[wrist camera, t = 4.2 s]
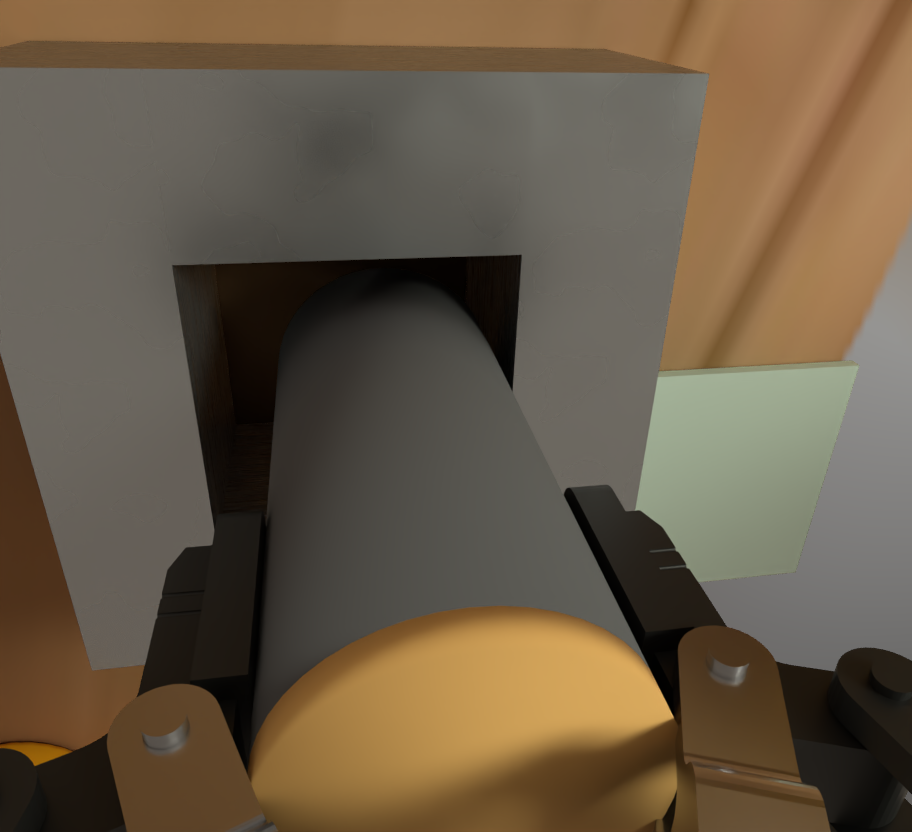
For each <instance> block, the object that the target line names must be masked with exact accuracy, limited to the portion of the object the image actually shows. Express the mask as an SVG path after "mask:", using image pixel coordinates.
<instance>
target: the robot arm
mask: <svg viewBox="0 0 912 832" xmlns="http://www.w3.org/2000/svg"><path fill="white" fill-rule="evenodd" d="M564 497H565V499H566V501H567V503H568V505H569V507H570V509H571V511H572V513H573V515H574V517H575V519H576V521H577V523H578V525H579V527H580V529H581V531H582V533H583V535H584V537H585V539H586V541H587V543H588V545H589V547H590V549H591V551H592V553H593V555H594V557H595V559H596V561H597V563H598V566H599V568H600V570H601V572H602V574H603V576H604V578H605V580H606V582H607V584H608V586H609V588H610V590H611V592H612V594H613V596H614V598H615V600H616V602H617V604H618V606H619V608H620V610H621V612H622V614H623V616H624V618H625V620H626V622H627V624H628V626H629V628H630V630H631V632H632V634H633V636H634V638H635V640H636V642H637V644H638V646H639V648H640V650H641V652H642V654H643V656H644V658H645V660H646V662H647V664H648V666H649V668H650V670H651V672H652V674H653V677H654V679H655V681H656V683H657V685H658V687H659V689H660V691H661V693H662V695H663V697H664V699H665V701H666V703H667V705H668V707H669V709H670V711H671V713H672V715H673V717H674V719H675V721H676V723H677V725H678V731H677V735H676V739H675V750H676V772H677V790H676V793H675V796H674V798H673V800H672V802H671V804H670V806H669V808H668V810H667V812H666V814H665V815H664V817H663V818H662V819H657V820H656V822H655V826H654V830H653V832H912V805H911V804H910V803H909V802H908V801H907V800H906V799H905V796H906V794H907V792H908V791H909V792H910V793H911V794H912V661H911V660H909V659H907V658H905V657H903V656H901V655H898V654H896V653H893V652H890V651H886V650H882V649H877V648H857V649H853V650H851V651H849V652H847V653H845V654H844V655H842V656H841V658H840V659H839V661H838V664H837V666H836V669H835V672H834V671H827V670H821V669H813V668H806V667H800V666H794V665H788V664H783V663H780V662H776V661H775V660H774V658H773V656H772V655H771V653H770V652H769V651H768V649H766V648H765V647H764V646H763V645H762V644H761V643H760V642H758V641H757V640H756V639H754V638H753V637H751V636H749V635H748V634H745V633H743V632H741V631H739V630H736V629H733V628H729V627H727V626H726V625H725V623H724V622H723V620H722V618H721V617H720V615H719V614H718V612H717V611H716V609H715V608H714V606H713V604H712V603H711V601H710V600H709V598H708V597H707V595H706V594H705V592H704V590H703V589H702V587H701V586H700V584H699V583H698V581H697V580H696V578H695V577H694V575H693V573H692V572H691V570H690V569H689V568H687V567H686V563H685V561H684V560H683V558H682V556H681V555H680V553H679V552H678V551H677V552H676V547H675V546H674V544H673V542H672V541H671V539H670V538H669V536H668V535H667V533H666V532H665V530H664V529H663V527H662V526H660V525H659V524H658V523H656V522H655V521H654V520H652V519H651V518H650V517H648V516H647V515H646V514H644V513H643V512H642V511H640V510H636V511H625V509H624V508H623V506H622V504H621V503H620V501H619V499H618V498H617V496H616V494H615V493H614V491H613V489H612V488H611V487H610V486H609V485H595V486H582V487H570V488H566V490H565V492H564ZM265 538H266V521H265V515H264V512H263V511H252V512H239V513H226V514H218V516H217V519H216V525H215V531H214V537H213V543H212V545H209V546H197V547H186V548H185V549H184V550H183V551H182V553H181V554H180V555H179V556H178V557H177V559H176V560H175V561H174V562H173V563H172V565H171V566H170V567H169V568H168V570H167V573H166V578H165V582H164V586H163V590H162V599H160V603H159V607H158V612H157V619H156V620H155V624H154V629H153V633H152V637H151V641H150V646H149V650H148V654H147V658H146V663H145V667H144V671H143V675H142V680H141V684H140V688H139V692H138V695H137V698H135V699H134V700H133V701H131V702H130V703H129V704H127V705H126V706H125V707H124V708H123V709H122V710H121V711H120V713H119V714H118V715H117V716H116V718H115V719H114V721H113V723H112V725H111V727H110V729H109V732H108V733H107V734H106V735H105V736H103V737H102V738H100V739H98V740H97V741H95V742H93V743H91V744H90V745H87V746H85V747H83V748H80V749H78V750H76V751H73V752H70V753H68V754H65V755H62V756H60V757H57V758H55V759H52V760H49V761H47V762H44V763H41V764H39V765H36V766H34V764H33V762H32V761H31V760H30V759H29V757H28V756H26V755H25V754H23V753H22V752H19V751H16V750H13V749H7V748H0V832H278V830H277V828H276V826H275V824H274V823H273V821H271V820H269V821H267V820H266V819H265V817H264V815H263V812H262V810H261V807H260V805H259V802H258V800H257V797H256V795H255V793H254V790H253V788H252V785H251V783H250V780H249V778H248V775H247V769H248V756H249V742H250V729H251V717H252V709H253V698H254V685H255V671H256V658H257V645H258V631H259V618H260V605H261V591H262V578H263V564H264V551H265Z"/></svg>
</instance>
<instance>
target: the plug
mask: <svg viewBox="0 0 912 832" xmlns="http://www.w3.org/2000/svg"><path fill="white" fill-rule="evenodd" d="M677 731H678V725H677V723H676V721H675V719H674V717H673V715H672V713H671V711H670V709H669V707H668V705H667V703H666V701H665V699H664V697H663V695H662V693H661V691H660V689H659V687H658V685H657V683H656V681H655V679H654V677H653V674H652V672H651V670H650V668H649V666H648V664H647V662H646V660H645V658H644V656H643V654H642V652H641V650H640V648H639V646H638V644H637V642H636V640H635V638H634V636H633V634H632V632H631V630H630V628H629V626H628V624H627V622H626V620H625V618H624V616H623V614H622V612H621V610H620V608H619V606H618V604H617V602H616V600H615V598H614V596H613V594H612V592H611V590H610V588H609V586H608V584H607V582H606V580H605V578H604V576H603V574H602V572H601V570H600V568H599V566H598V563H597V561H596V559H595V557H594V555H593V553H592V551H591V549H590V547H589V545H588V543H587V541H586V539H585V537H584V535H583V533H582V531H581V529H580V527H579V525H578V523H577V521H576V519H575V517H574V515H573V513H572V511H571V509H570V507H569V505H568V503H567V501H566V499H565V497H564V495H563V493H562V491H561V489H560V487H559V485H558V483H557V481H556V479H555V477H554V475H553V473H552V471H551V469H550V467H549V465H548V463H547V461H546V459H545V457H544V455H543V453H542V450H541V448H540V446H539V444H538V442H537V440H536V438H535V436H534V434H533V432H532V430H531V428H530V426H529V424H528V422H527V420H526V418H525V416H524V414H523V412H522V410H521V408H520V406H519V404H518V402H517V400H516V398H515V396H514V394H513V392H512V390H511V388H510V386H509V384H508V382H507V380H506V378H505V376H504V374H503V372H502V370H501V368H500V366H499V364H498V362H497V360H496V358H495V356H494V354H493V352H492V350H491V348H490V346H489V344H488V342H487V339H486V337H485V335H484V333H483V331H482V329H481V327H480V325H479V323H478V321H477V319H476V317H475V315H474V314H473V312H472V311H471V310H470V308H469V307H468V305H467V304H466V303H465V302H464V301H463V300H462V299H461V298H460V297H459V295H457V294H456V293H455V292H454V291H452V290H451V289H450V288H449V287H447V286H446V285H444V284H442V283H441V282H439V281H438V280H435V279H433V278H431V277H429V276H426V275H424V274H421V273H417V272H414V271H411V270H404V269H398V268H375V269H366V270H362V271H357V272H353V273H350V274H348V275H345V276H342V277H339V278H338V279H336V280H334V281H332V282H330V283H328V284H326V285H325V286H323V287H322V288H320V289H319V290H317V291H316V292H315V293H314V294H313V295H311V296H310V297H309V298H308V299H307V300H306V301H305V302H304V303H303V304H302V305H301V307H300V308H299V309H298V310H297V311H296V313H295V314H294V316H293V318H292V319H291V321H290V322H289V324H288V327H287V329H286V331H285V333H284V336H283V339H282V343H281V346H280V352H279V360H278V373H277V386H276V399H275V413H274V426H273V439H272V452H271V465H270V479H269V492H268V505H267V518H266V538H265V551H264V564H263V578H262V591H261V605H260V618H259V631H258V645H257V658H256V671H255V685H254V698H253V709H252V717H251V729H250V742H249V756H248V769H247V775H248V778H249V780H250V783H251V785H252V788H253V790H254V793H255V795H256V797H257V800H258V802H259V805H260V807H261V810H262V812H263V815H264V817H265V819H266V820H267V821H269V820H271V821H273V823H274V824H275V826H276V828H277V830H278V832H653V830H654V826H655V822H656V820H657V819H662V818H663V817H664V815H665V814H666V812H667V810H668V808H669V806H670V804H671V802H672V800H673V798H674V796H675V793H676V790H677V772H676V750H675V739H676V735H677Z"/></svg>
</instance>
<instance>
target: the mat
mask: <svg viewBox="0 0 912 832" xmlns="http://www.w3.org/2000/svg"><path fill="white" fill-rule="evenodd" d="M858 368H859V365H858V364H856V363H855V362H854V361H835V362H817V363H799V364H782V365H764V366H746V367H728V368H711V369H693V370H675V371H659V373H658V379H657V385H656V391H655V397H654V403H653V409H652V414H651V420H650V426H649V432H648V438H647V444H646V450H645V456H644V462H643V468H642V474H641V480H640V485H639V491H638V497H637V503H636V509H635V511H636V510H640V511H642V512H643V513H644V514H646V515H647V516H648V517H650V518H651V519H652V520H654V521H655V522H656V523H658V524H659V525H660V526H662V527H663V529H664V530H665V532H666V533H667V535H668V536H669V538H670V539H671V541H672V542H673V544H674V546H675V547H676V552H677V551H678V552H679V553H680V555H681V556H682V558H683V560H684V561H685V563H686V567H687V568H689V569H690V570H691V572H692V573H693V575H694V577H695V578H696V580H697V581H698V582H706V581H716V580H726V579H736V578H746V577H755V576H764V575H774V574H784V573H794V572H796V569H797V566H798V563H799V559H800V556H801V553H802V550H803V546H804V543H805V540H806V537H807V534H808V530H809V527H810V524H811V520H812V517H813V514H814V511H815V508H816V504H817V501H818V498H819V494H820V491H821V488H822V485H823V482H824V478H825V475H826V472H827V468H828V465H829V462H830V459H831V456H832V452H833V449H834V446H835V443H836V440H837V436H838V433H839V430H840V427H841V423H842V420H843V417H844V414H845V410H846V407H847V404H848V401H849V397H850V394H851V391H852V388H853V384H854V381H855V378H856V375H857V372H858Z"/></svg>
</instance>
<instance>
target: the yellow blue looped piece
mask: <svg viewBox="0 0 912 832" xmlns="http://www.w3.org/2000/svg"><path fill="white" fill-rule="evenodd" d="M0 748H7V749H13V750H16V751H19V752H22V753H23V754H25V755H26V756H28V757H29V759H30V760H31V761H32V762H33V764H34V766H36V765H39V764H41V763H44V762H47V761H49V760H52V759H55V758H57V757H60V756H62V755H65V754H68V753H70V752H73V751H71V750H68V749H66V748H63V747H59V746H54V745H50V744H44V743H35V742H13V743H6V744H0Z"/></svg>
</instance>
